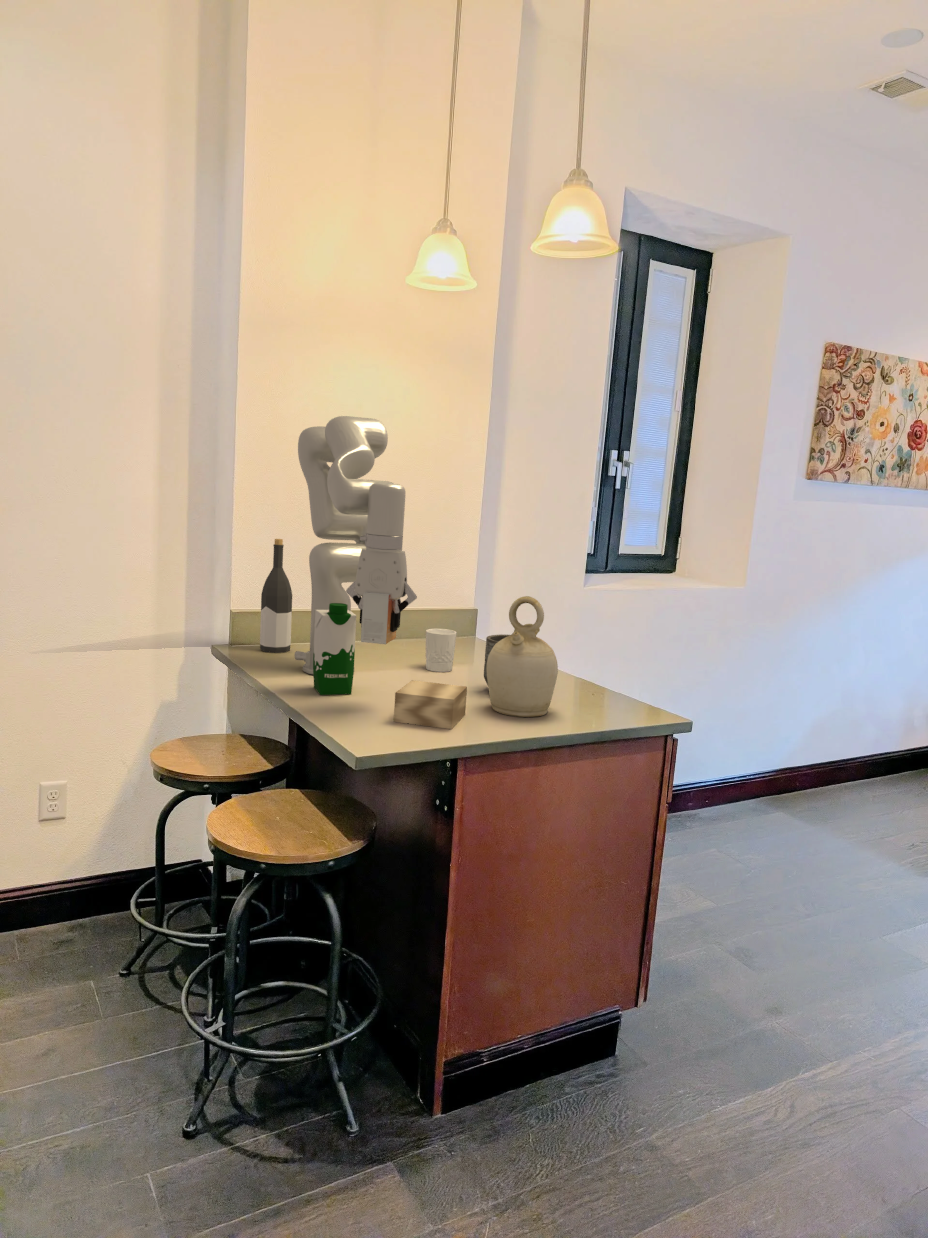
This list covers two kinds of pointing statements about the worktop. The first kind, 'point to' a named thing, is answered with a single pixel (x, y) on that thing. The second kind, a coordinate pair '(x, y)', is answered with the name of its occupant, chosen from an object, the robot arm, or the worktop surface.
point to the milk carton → (334, 650)
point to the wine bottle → (276, 607)
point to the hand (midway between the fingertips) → (379, 628)
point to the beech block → (430, 704)
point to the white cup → (440, 649)
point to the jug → (522, 668)
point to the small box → (376, 618)
